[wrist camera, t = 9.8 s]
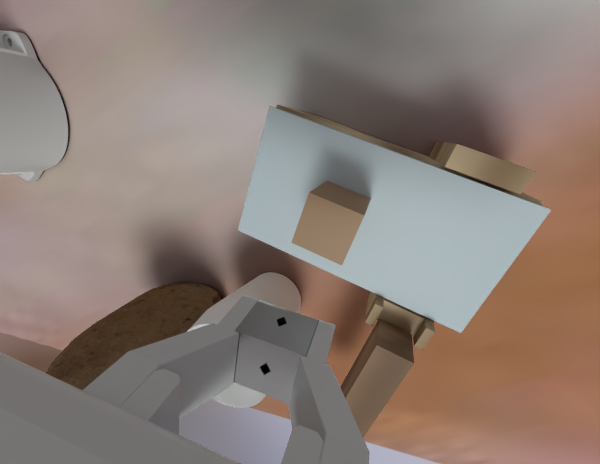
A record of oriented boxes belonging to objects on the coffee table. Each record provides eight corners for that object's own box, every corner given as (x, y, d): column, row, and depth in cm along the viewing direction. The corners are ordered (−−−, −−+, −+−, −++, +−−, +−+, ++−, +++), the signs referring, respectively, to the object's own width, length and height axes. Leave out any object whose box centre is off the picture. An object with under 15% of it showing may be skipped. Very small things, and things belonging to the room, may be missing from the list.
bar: (313, 435, 27) (304, 468, 25) (379, 318, 21) (376, 345, 19) (337, 449, 27) (330, 484, 24) (411, 333, 21) (413, 363, 18)
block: (233, 290, 37) (78, 438, 19) (232, 336, 40) (95, 505, 22) (164, 270, 40) (-30, 383, 22) (167, 315, 42) (-3, 449, 24)
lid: (244, 226, 24) (203, 250, 19) (276, 107, 20) (235, 98, 15) (457, 322, 21) (477, 383, 16) (541, 205, 17) (603, 235, 12)
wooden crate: (274, 221, 32) (225, 255, 23) (313, 97, 27) (269, 77, 18) (431, 290, 29) (448, 362, 20) (509, 166, 24) (581, 186, 15)
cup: (319, 278, 33) (281, 350, 22) (301, 338, 36) (260, 425, 25) (249, 251, 34) (181, 305, 24) (238, 311, 38) (175, 381, 27)
